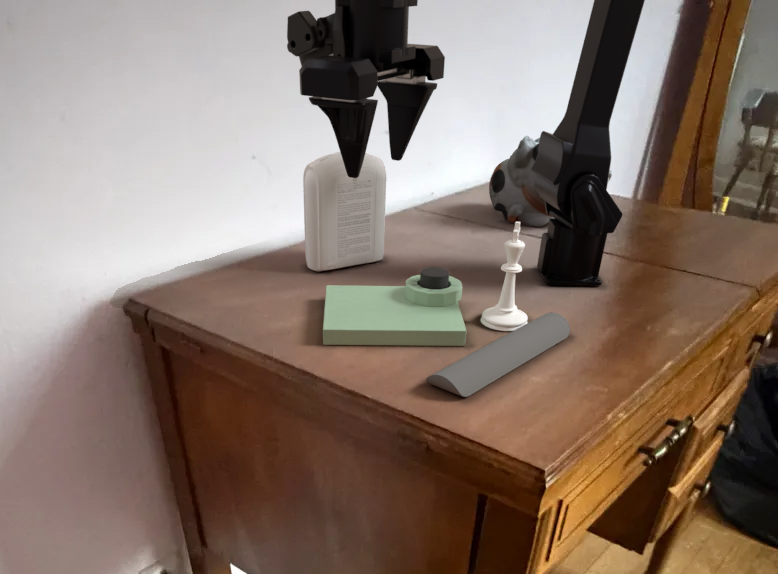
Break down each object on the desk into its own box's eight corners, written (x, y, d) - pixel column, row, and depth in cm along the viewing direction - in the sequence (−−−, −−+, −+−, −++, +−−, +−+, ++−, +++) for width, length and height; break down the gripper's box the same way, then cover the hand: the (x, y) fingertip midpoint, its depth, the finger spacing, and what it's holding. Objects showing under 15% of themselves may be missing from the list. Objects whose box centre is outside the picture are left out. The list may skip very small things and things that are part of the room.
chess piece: (530, 316, 77) (546, 218, 71) (523, 334, 73) (539, 232, 67) (485, 310, 78) (497, 212, 72) (476, 327, 75) (487, 226, 68)
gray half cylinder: (572, 335, 73) (575, 318, 72) (459, 402, 62) (461, 384, 61) (536, 324, 75) (539, 307, 74) (421, 387, 64) (422, 368, 63)
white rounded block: (370, 252, 93) (372, 144, 85) (389, 261, 90) (392, 151, 82) (300, 265, 88) (295, 153, 80) (318, 275, 85) (314, 160, 78)
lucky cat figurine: (578, 205, 111) (628, 124, 99) (571, 259, 106) (622, 180, 94) (488, 171, 110) (528, 83, 97) (477, 224, 104) (516, 138, 92)
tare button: (446, 281, 77) (447, 267, 76) (449, 291, 75) (450, 276, 74) (418, 281, 77) (419, 266, 76) (420, 291, 75) (421, 276, 74)
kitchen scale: (455, 300, 80) (458, 273, 78) (469, 346, 71) (472, 316, 69) (326, 299, 80) (326, 272, 78) (323, 345, 70) (322, 315, 69)
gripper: (353, -26, 74) (354, 144, 84) (243, -23, 61) (259, 176, 71) (452, -23, 70) (440, 155, 80) (355, -19, 57) (355, 192, 67)
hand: (375, 168), depth 75 cm, fingers open, 9 cm apart
